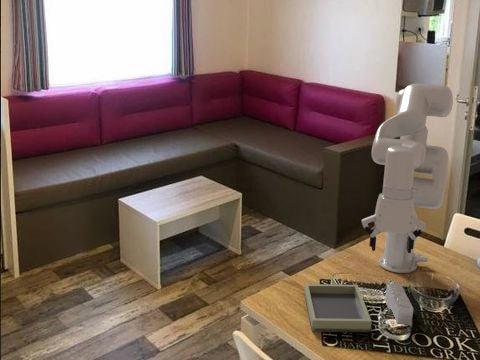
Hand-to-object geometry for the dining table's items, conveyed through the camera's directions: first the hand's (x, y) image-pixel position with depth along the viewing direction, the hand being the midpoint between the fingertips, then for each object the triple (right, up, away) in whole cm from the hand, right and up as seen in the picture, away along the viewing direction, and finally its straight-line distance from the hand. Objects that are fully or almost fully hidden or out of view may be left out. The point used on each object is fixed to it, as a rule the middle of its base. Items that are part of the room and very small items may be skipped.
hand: (390, 250), depth 159 cm
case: (-14, -19, +6) cm, 24 cm away
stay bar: (+4, -19, +6) cm, 20 cm away
